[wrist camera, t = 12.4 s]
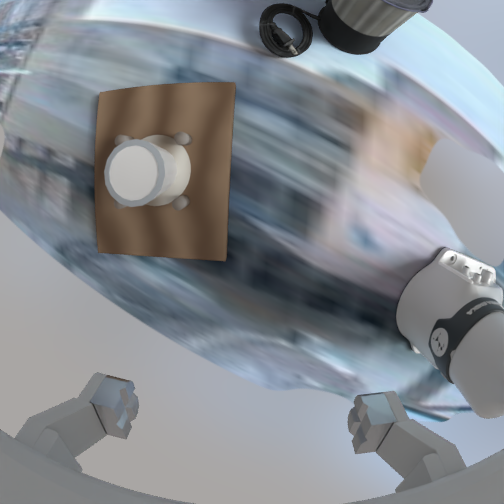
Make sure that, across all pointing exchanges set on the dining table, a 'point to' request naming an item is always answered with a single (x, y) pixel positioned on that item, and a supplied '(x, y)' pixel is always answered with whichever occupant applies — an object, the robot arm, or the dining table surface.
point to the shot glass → (139, 172)
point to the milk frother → (341, 24)
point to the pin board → (188, 169)
